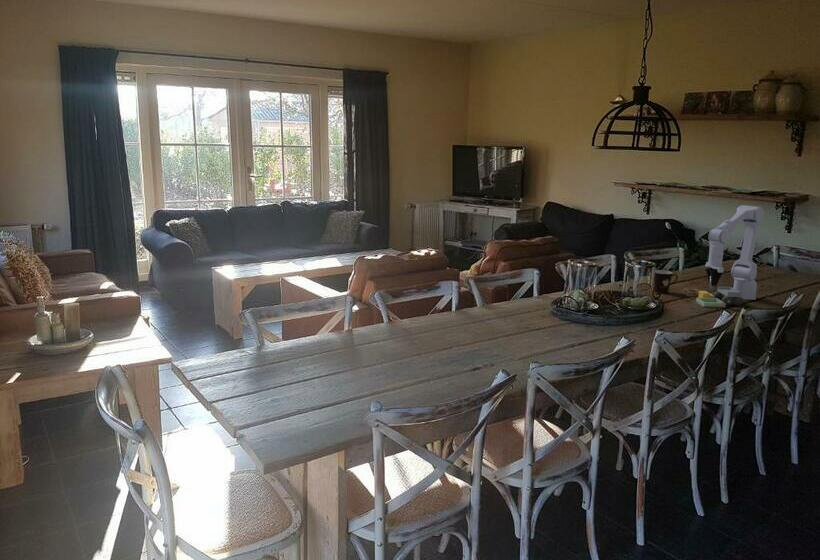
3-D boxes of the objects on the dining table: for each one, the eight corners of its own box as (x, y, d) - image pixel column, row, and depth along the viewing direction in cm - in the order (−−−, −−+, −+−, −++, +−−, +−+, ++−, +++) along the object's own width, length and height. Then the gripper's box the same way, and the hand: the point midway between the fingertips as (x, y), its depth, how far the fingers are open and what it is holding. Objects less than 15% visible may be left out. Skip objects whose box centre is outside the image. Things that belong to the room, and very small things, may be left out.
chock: (708, 299, 311) (709, 290, 310) (713, 301, 306) (714, 293, 306) (698, 298, 312) (699, 290, 311) (702, 301, 307) (703, 293, 306)
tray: (716, 302, 305) (717, 298, 304) (725, 307, 295) (725, 303, 295) (695, 301, 305) (696, 297, 305) (703, 307, 296) (704, 302, 295)
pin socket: (697, 293, 322) (697, 289, 322) (702, 296, 315) (703, 292, 315) (682, 292, 322) (683, 288, 322) (687, 296, 316) (688, 292, 315)
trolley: (731, 299, 310) (733, 286, 309) (743, 306, 299) (745, 292, 297) (712, 299, 311) (714, 286, 309) (723, 305, 299) (725, 292, 298)
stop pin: (712, 290, 301) (715, 275, 299) (715, 292, 298) (717, 277, 296) (706, 290, 301) (708, 275, 299) (708, 292, 298) (711, 277, 296)
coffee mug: (652, 293, 321) (654, 273, 319) (651, 289, 329) (653, 269, 327) (677, 295, 318) (679, 274, 316) (676, 291, 326) (678, 271, 324)
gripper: (700, 252, 302) (697, 281, 305) (713, 258, 288) (710, 288, 291) (716, 252, 302) (712, 281, 305) (729, 258, 288) (726, 288, 291)
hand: (712, 284), depth 298 cm, fingers closed on stop pin, 3 cm apart
